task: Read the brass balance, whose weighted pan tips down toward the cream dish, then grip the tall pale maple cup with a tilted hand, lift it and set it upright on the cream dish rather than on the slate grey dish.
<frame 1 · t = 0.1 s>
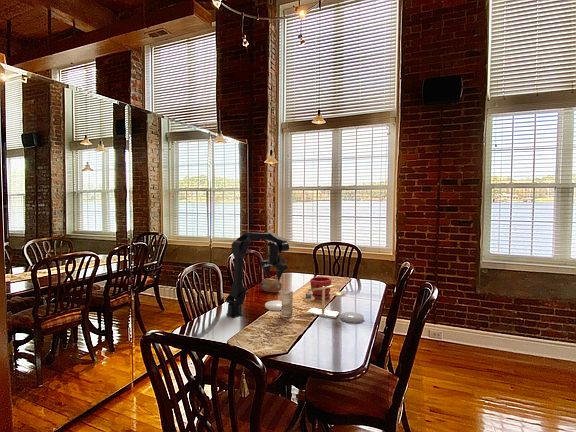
hand: (273, 279, 207), 15 cm above the table, tool pointing down, fingers open, 9 cm apart
cream dish: (277, 306, 203), on the table
brass balance: (323, 314, 191), on the table
plant pot: (320, 297, 222), on the table
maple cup: (286, 315, 188), on the table
slate dish: (351, 318, 185), on the table
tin: (271, 291, 234), on the table
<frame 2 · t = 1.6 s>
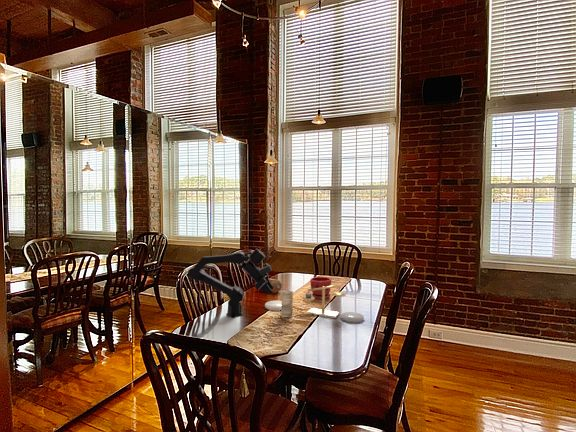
hand: (272, 290, 188), 13 cm above the table, tool tilted 45°, fingers open, 9 cm apart
nothing on the table moved.
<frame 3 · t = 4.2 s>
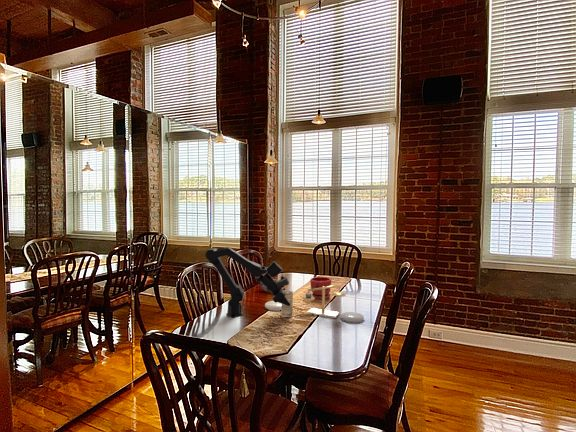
hand: (289, 303, 188), 7 cm above the table, tool tilted 45°, fingers closed on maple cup, 6 cm apart
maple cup: (287, 315, 188), on the table, touching gripper
everything else where it was.
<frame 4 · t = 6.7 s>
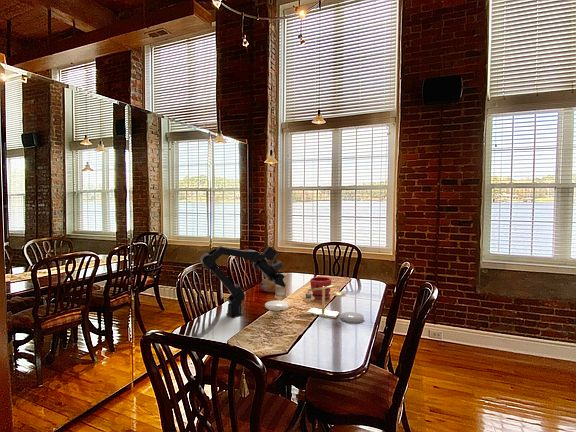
hand: (283, 285, 199), 13 cm above the table, tool tilted 45°, fingers closed on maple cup, 6 cm apart
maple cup: (280, 297, 199), point 7 cm above the table, touching gripper
everything else where it was.
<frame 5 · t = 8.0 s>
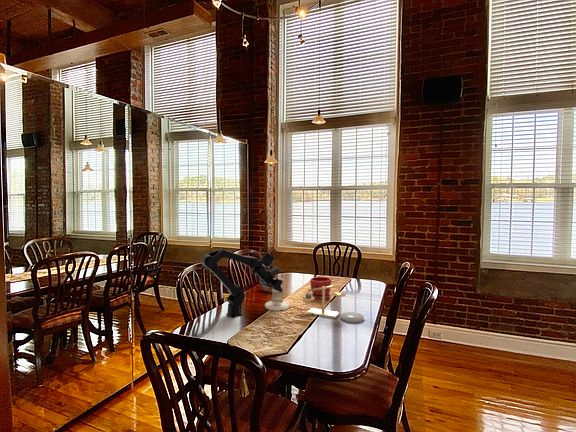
hand: (279, 290, 203), 10 cm above the table, tool tilted 45°, fingers closed on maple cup, 6 cm apart
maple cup: (277, 301, 202), point 3 cm above the table, touching gripper
everything else where it was.
when the fingers open (9 cm above the table, at t = 9.0 s): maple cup drops 1 cm, resting on cream dish.
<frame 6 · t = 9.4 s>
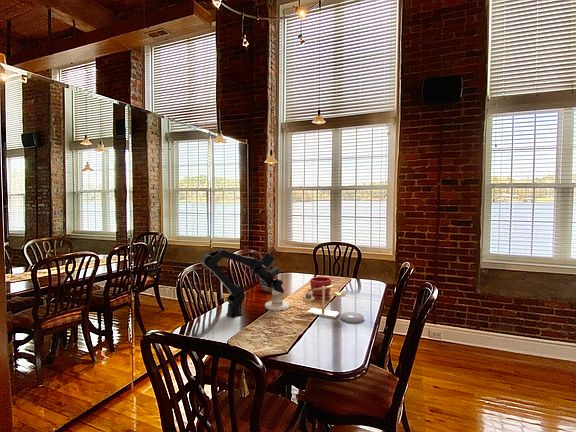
hand: (279, 290, 203), 9 cm above the table, tool tilted 45°, fingers open, 9 cm apart
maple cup: (277, 304, 202), point 2 cm above the table, touching cream dish
everything else where it was.
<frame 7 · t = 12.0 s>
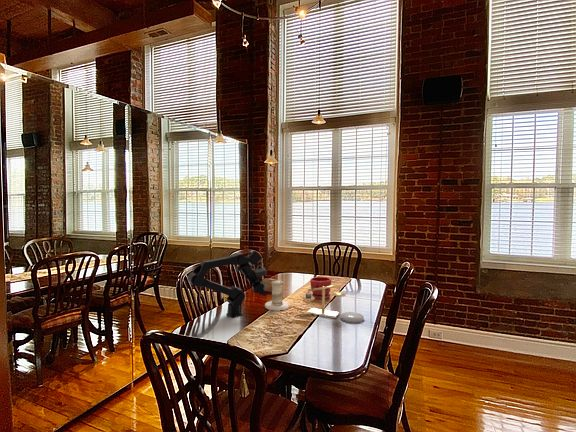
hand: (262, 291, 197), 10 cm above the table, tool tilted 35°, fingers open, 9 cm apart
nothing on the table moved.
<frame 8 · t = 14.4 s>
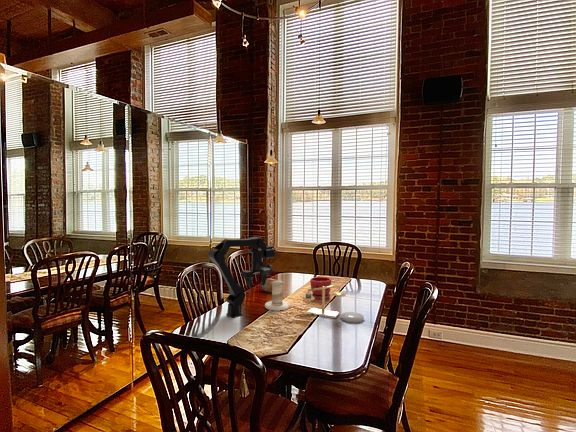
hand: (257, 287, 196), 13 cm above the table, tool pointing down, fingers open, 9 cm apart
nothing on the table moved.
at the end: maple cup 0.1 cm off-centre on the cream dish, point 1.5 cm above the cream dish's base; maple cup tilted 0°; the gripper is holding nothing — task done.
